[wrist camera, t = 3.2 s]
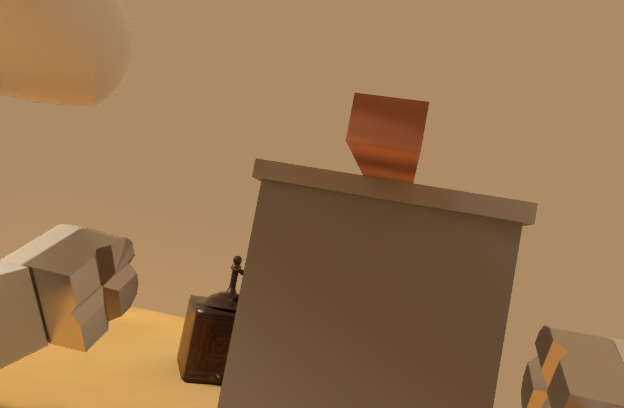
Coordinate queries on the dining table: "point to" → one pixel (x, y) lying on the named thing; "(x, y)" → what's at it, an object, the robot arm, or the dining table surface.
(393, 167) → the copper-colored stick
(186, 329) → the manual coffee grinder
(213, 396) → the dining table surface
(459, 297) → the shelf block
